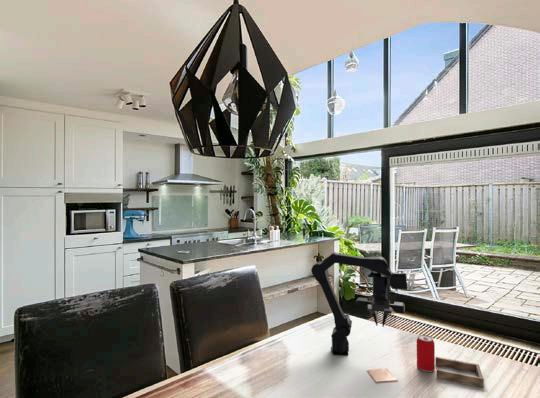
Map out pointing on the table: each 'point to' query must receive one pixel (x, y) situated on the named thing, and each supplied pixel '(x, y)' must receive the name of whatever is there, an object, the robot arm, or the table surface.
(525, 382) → the table surface
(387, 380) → the terracotta tile
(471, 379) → the walnut corral
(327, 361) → the table surface
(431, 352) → the beverage can
